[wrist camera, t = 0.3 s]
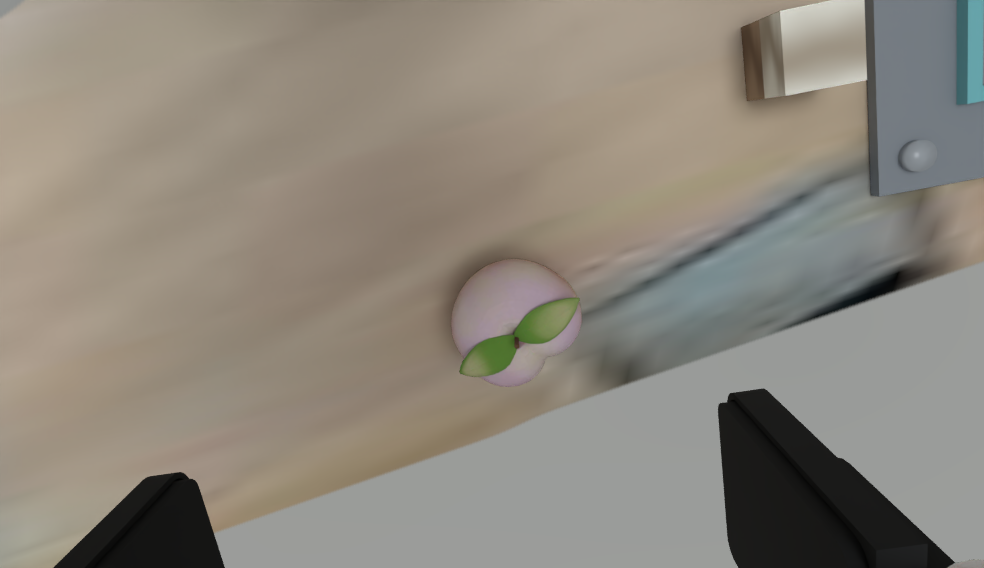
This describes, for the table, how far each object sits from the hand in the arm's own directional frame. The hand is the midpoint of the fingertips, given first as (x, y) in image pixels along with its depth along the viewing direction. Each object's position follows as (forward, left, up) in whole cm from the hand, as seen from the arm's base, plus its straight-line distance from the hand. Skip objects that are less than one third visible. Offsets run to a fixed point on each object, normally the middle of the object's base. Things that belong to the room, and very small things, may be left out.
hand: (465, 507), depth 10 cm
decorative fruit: (+6, 0, -36) cm, 37 cm away
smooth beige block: (-8, +22, -36) cm, 43 cm away
